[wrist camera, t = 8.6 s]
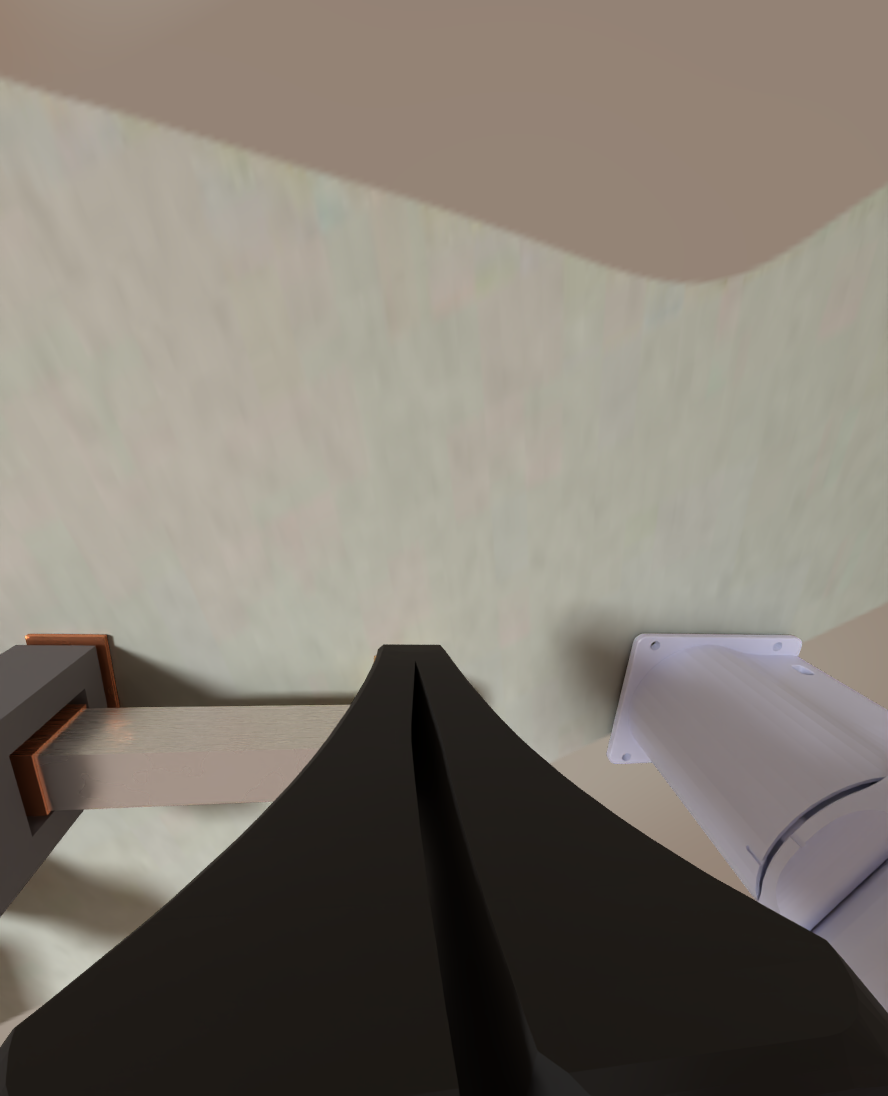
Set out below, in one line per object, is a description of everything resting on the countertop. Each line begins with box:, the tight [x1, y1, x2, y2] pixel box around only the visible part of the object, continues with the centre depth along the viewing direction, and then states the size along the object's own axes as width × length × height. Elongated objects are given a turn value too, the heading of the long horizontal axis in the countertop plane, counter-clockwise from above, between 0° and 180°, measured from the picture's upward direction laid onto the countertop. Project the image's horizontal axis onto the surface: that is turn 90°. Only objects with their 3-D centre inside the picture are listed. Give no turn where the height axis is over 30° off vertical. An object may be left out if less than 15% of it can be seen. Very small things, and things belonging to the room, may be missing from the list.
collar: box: [0, 645, 108, 917], centre depth 15 cm, size 3×6×7 cm, turn 176°
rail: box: [9, 634, 376, 816], centre depth 17 cm, size 22×7×4 cm, turn 86°
